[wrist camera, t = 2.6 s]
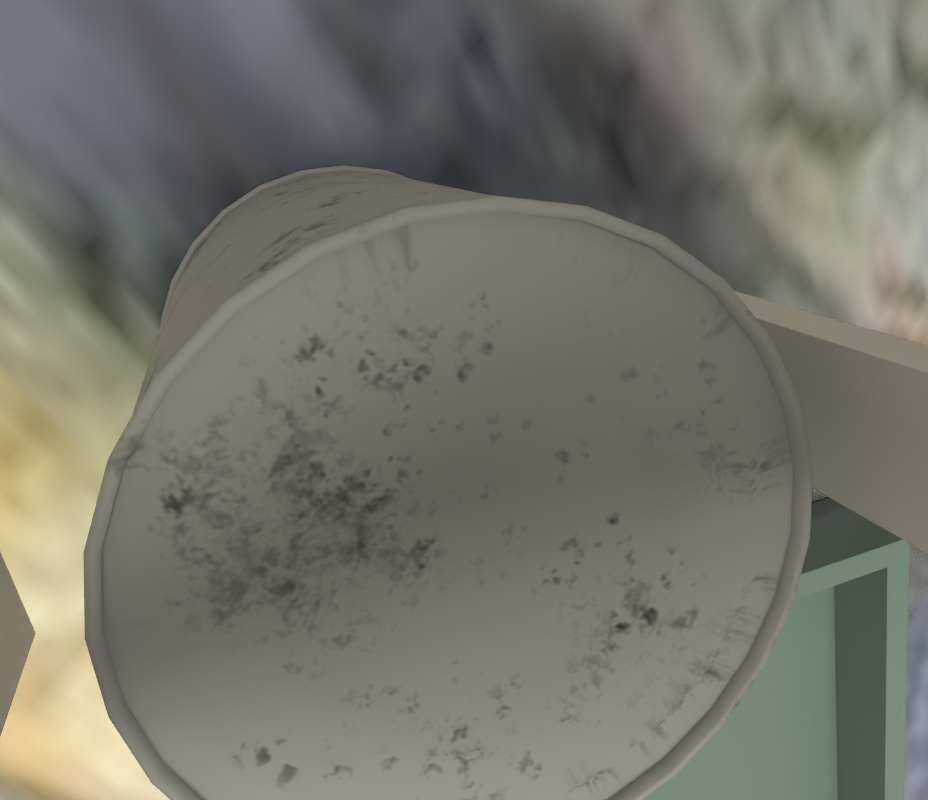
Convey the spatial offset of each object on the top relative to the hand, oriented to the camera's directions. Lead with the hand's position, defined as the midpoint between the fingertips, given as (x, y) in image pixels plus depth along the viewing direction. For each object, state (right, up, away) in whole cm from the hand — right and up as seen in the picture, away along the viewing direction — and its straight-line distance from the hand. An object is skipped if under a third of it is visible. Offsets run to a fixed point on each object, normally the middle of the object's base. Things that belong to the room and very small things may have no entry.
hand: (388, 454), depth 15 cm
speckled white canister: (-2, +2, +7) cm, 8 cm away
